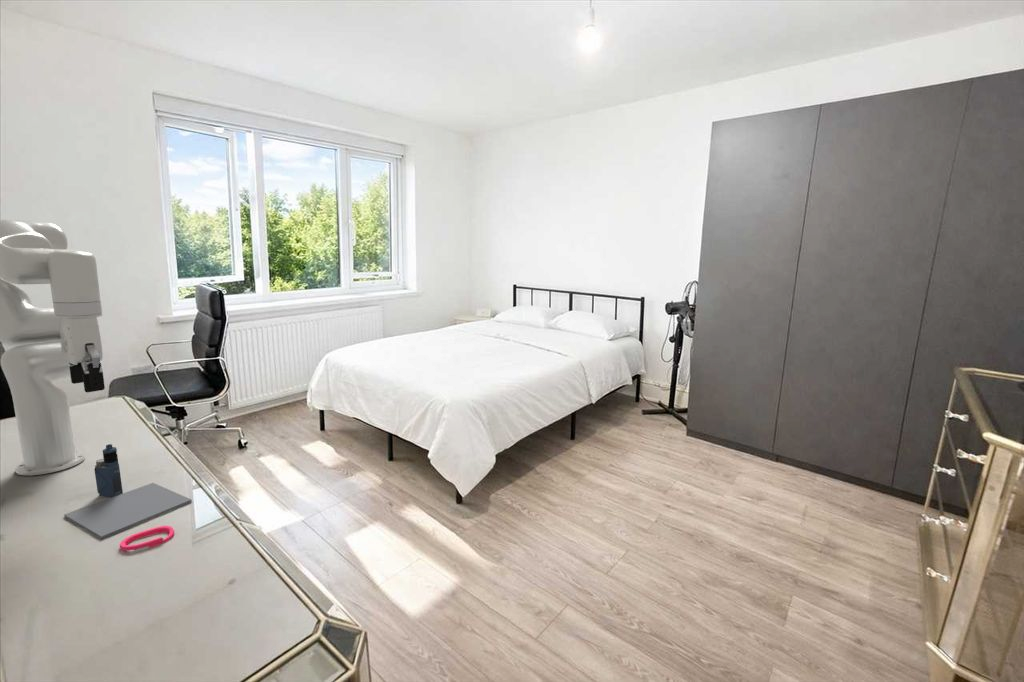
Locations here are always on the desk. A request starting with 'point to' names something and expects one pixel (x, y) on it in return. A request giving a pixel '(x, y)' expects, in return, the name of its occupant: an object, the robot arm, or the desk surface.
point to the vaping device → (108, 473)
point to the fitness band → (149, 543)
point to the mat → (126, 510)
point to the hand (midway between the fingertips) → (88, 386)
